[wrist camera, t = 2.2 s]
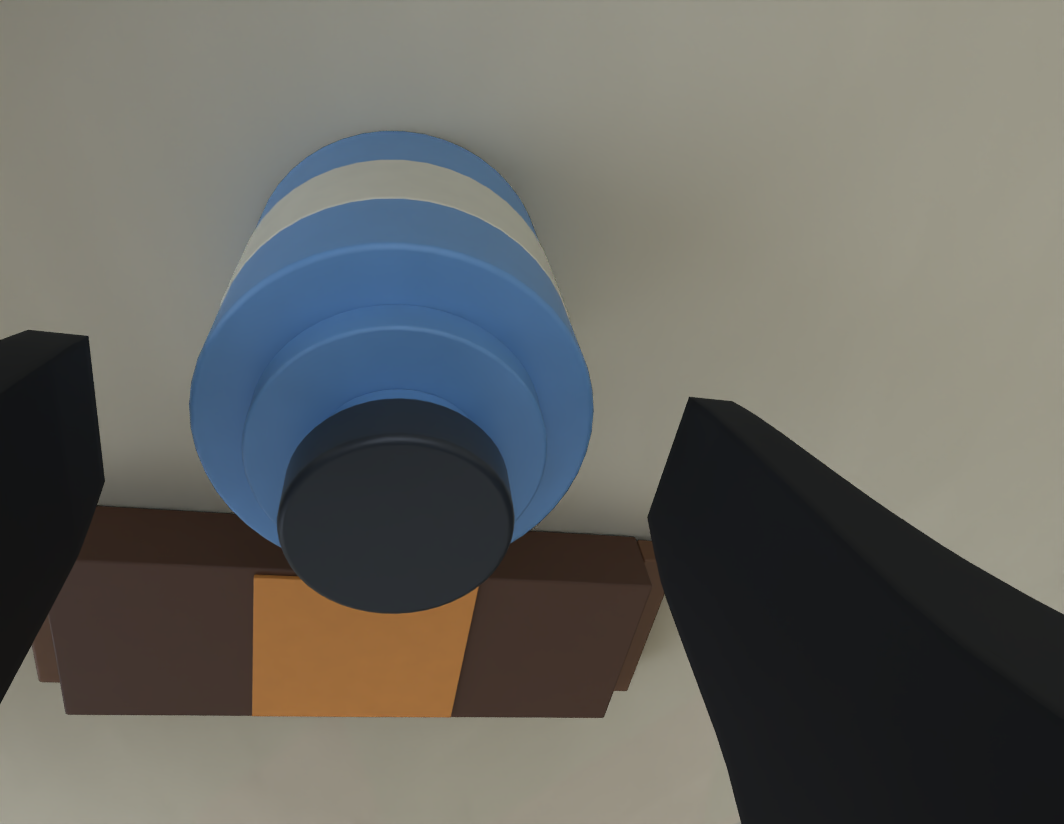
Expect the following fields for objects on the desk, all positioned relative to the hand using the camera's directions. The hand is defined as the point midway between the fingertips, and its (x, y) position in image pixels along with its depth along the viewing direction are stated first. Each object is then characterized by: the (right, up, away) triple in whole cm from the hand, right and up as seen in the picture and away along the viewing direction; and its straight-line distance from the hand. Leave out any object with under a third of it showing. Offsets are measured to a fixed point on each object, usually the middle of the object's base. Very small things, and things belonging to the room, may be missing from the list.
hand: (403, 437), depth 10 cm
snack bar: (-2, -4, +8) cm, 9 cm away
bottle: (-1, +3, +4) cm, 5 cm away
